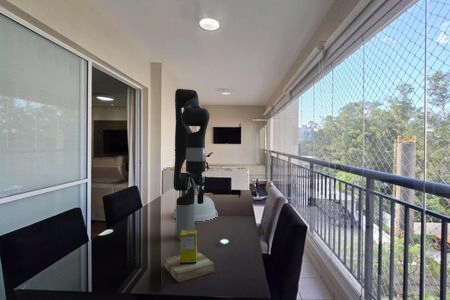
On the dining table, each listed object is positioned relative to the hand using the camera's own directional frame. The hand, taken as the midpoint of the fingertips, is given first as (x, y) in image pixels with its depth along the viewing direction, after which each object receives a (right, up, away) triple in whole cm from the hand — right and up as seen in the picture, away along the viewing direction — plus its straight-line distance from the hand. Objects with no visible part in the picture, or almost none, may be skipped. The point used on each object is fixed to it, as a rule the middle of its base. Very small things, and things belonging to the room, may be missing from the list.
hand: (195, 201), depth 96 cm
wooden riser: (-2, -25, -3) cm, 25 cm away
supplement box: (-2, -22, -3) cm, 22 cm away
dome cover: (-9, -26, +74) cm, 79 cm away
